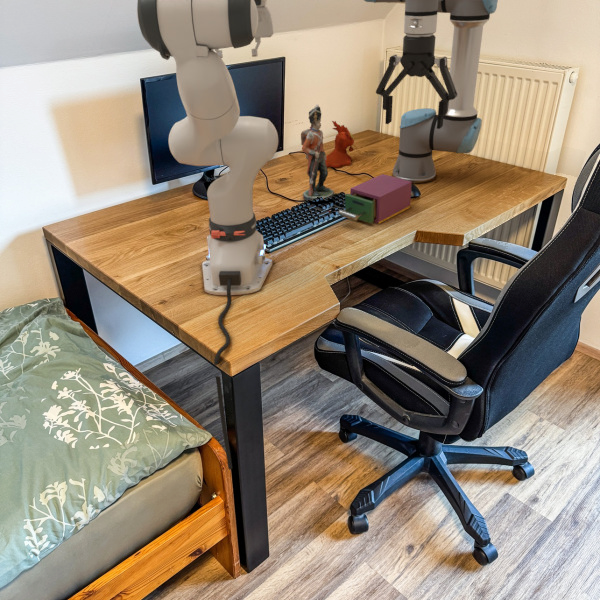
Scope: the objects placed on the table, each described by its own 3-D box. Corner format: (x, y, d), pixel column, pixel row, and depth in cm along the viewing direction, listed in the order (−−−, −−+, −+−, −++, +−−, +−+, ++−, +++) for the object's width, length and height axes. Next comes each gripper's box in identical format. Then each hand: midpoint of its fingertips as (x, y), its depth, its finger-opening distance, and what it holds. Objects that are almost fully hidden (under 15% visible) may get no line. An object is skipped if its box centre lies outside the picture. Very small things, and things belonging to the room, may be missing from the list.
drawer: (359, 229, 165) (359, 208, 161) (333, 220, 171) (333, 200, 168) (400, 208, 177) (401, 188, 173) (374, 200, 183) (375, 181, 180)
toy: (361, 162, 218) (362, 123, 210) (321, 170, 212) (321, 130, 204) (345, 154, 228) (345, 116, 220) (306, 161, 221) (305, 123, 213)
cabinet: (378, 223, 170) (379, 197, 165) (349, 214, 177) (350, 188, 172) (410, 207, 180) (411, 181, 175) (381, 199, 187) (382, 173, 182)
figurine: (331, 204, 184) (330, 110, 168) (299, 202, 186) (296, 110, 170) (336, 192, 193) (335, 102, 177) (306, 191, 195) (303, 102, 179)
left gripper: (190, 1, 141) (197, 60, 149) (271, -2, 142) (274, 57, 149) (193, 0, 147) (200, 57, 154) (271, -4, 147) (274, 53, 154)
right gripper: (364, 35, 136) (362, 124, 147) (468, 38, 126) (458, 133, 137) (375, 31, 141) (373, 117, 153) (476, 33, 131) (465, 125, 142)
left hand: (237, 57), depth 151 cm, fingers open, 8 cm apart
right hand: (413, 125), depth 145 cm, fingers open, 13 cm apart
